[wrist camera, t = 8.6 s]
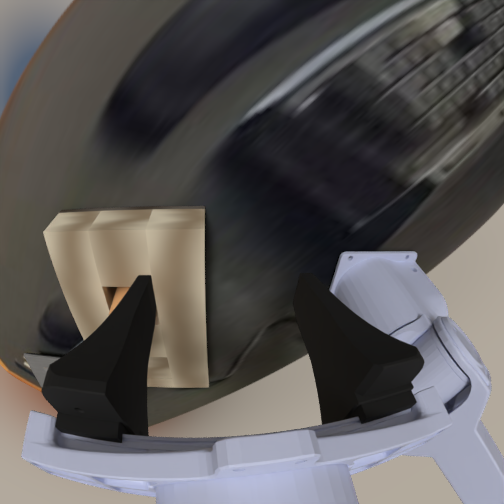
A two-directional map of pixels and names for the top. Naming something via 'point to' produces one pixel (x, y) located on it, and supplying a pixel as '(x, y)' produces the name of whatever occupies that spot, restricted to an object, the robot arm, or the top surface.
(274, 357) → the top surface
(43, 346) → the top surface
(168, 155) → the top surface
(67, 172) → the top surface
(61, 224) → the socket board
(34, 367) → the electrical outlet
